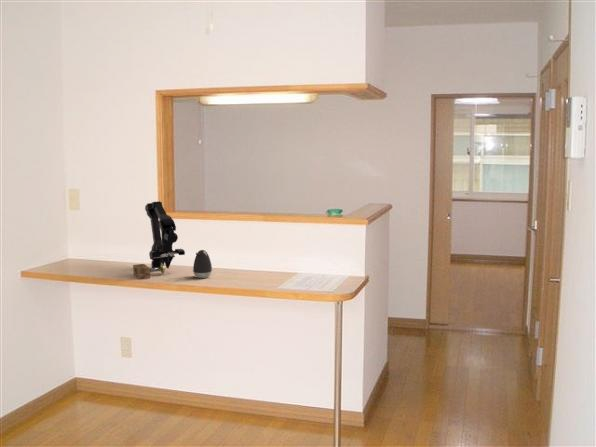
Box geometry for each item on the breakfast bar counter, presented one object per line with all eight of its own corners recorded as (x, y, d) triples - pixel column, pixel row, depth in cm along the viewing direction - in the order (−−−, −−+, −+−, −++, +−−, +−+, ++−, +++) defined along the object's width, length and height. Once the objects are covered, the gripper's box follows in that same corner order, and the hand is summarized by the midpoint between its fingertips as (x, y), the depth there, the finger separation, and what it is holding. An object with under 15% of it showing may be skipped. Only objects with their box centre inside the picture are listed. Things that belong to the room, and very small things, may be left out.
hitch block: (144, 274, 342) (144, 263, 341) (149, 278, 332) (149, 267, 331) (133, 275, 339) (133, 264, 339) (138, 279, 329) (138, 268, 328)
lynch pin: (162, 272, 343) (161, 262, 343) (164, 274, 339) (164, 263, 338) (144, 274, 339) (143, 264, 338) (146, 275, 334) (146, 265, 333)
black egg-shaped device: (189, 278, 332) (188, 250, 330) (200, 274, 341) (200, 247, 339) (204, 280, 327) (203, 252, 325) (215, 276, 336) (215, 249, 334)
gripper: (178, 237, 351) (178, 264, 353) (146, 240, 342) (146, 267, 344) (184, 240, 342) (185, 267, 344) (151, 242, 333) (152, 270, 335)
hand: (167, 268), depth 342 cm, fingers closed
